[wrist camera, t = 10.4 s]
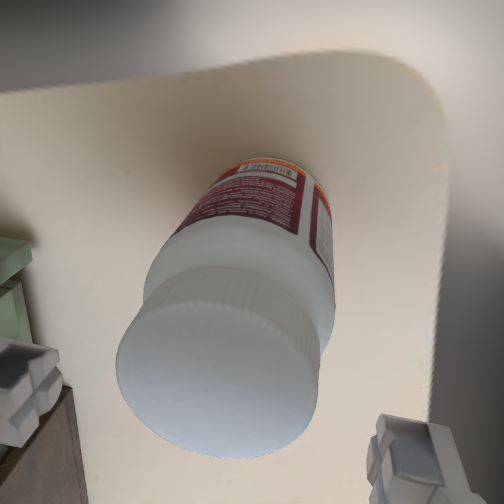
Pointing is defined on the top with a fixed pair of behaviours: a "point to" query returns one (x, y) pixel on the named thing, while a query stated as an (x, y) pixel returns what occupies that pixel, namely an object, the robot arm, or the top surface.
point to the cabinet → (47, 461)
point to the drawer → (13, 300)
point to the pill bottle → (236, 316)
